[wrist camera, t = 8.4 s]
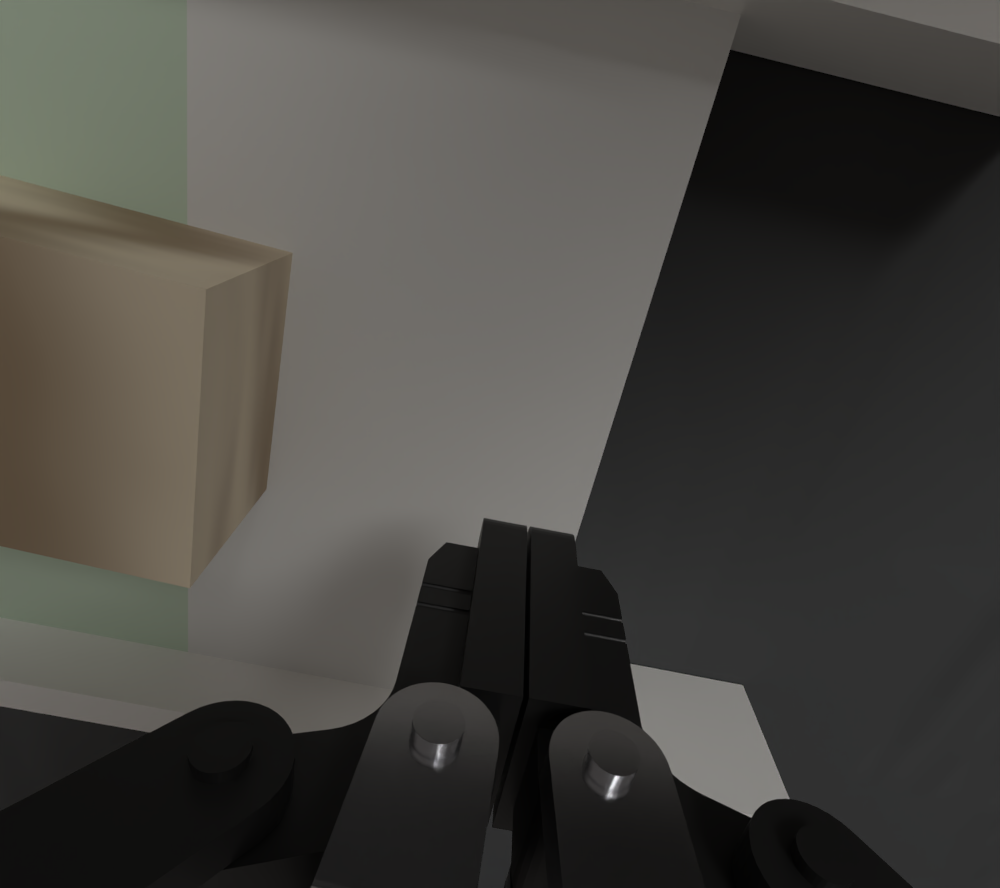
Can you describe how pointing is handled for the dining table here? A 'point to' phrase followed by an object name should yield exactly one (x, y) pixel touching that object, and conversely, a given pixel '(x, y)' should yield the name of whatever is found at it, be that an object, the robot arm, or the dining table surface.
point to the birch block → (132, 383)
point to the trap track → (406, 303)
